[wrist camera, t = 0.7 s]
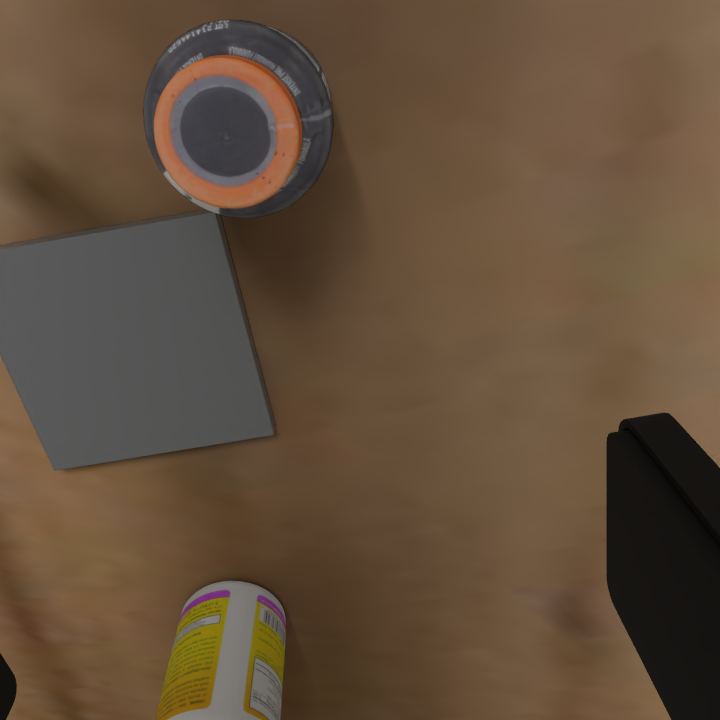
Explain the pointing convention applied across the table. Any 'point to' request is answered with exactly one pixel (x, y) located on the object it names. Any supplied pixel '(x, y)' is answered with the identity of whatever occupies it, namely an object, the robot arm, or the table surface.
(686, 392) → the table surface
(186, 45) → the pill bottle
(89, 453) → the plate
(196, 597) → the supplement bottle
